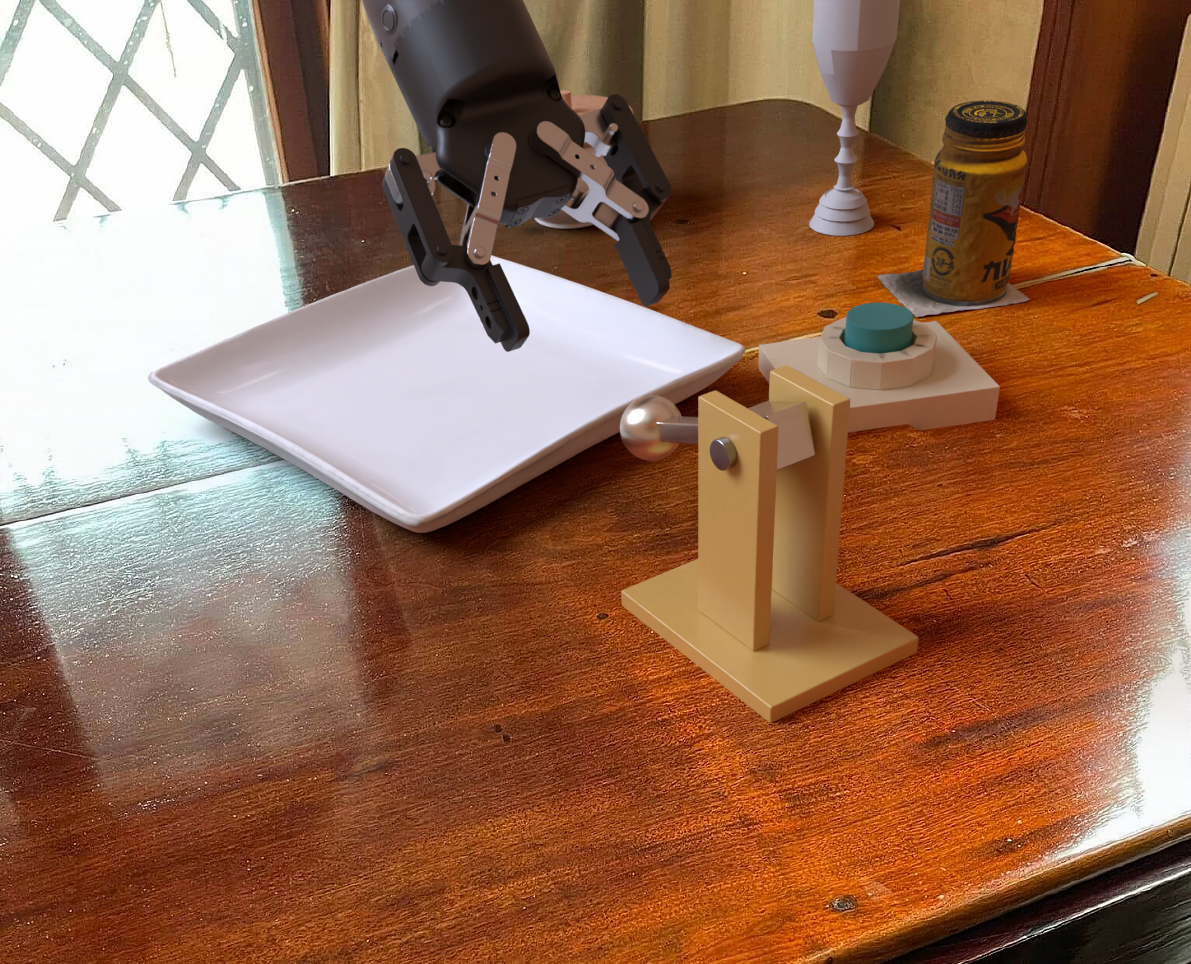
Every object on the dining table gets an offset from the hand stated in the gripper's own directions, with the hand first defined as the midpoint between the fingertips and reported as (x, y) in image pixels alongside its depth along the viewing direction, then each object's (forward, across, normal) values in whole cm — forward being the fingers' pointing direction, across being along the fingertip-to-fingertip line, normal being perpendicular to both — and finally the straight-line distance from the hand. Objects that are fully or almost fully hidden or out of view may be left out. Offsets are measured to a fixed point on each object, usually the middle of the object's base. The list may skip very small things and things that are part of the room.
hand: (589, 320), depth 72 cm
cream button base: (+7, -22, -9) cm, 24 cm away
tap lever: (+10, 0, +5) cm, 11 cm away
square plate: (-4, 0, -20) cm, 20 cm away
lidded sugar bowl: (-21, -25, -37) cm, 49 cm away
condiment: (+1, -37, -15) cm, 40 cm away
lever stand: (+18, 0, +2) cm, 19 cm away
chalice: (-10, -40, -26) cm, 48 cm away
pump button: (+5, -22, -6) cm, 23 cm away
